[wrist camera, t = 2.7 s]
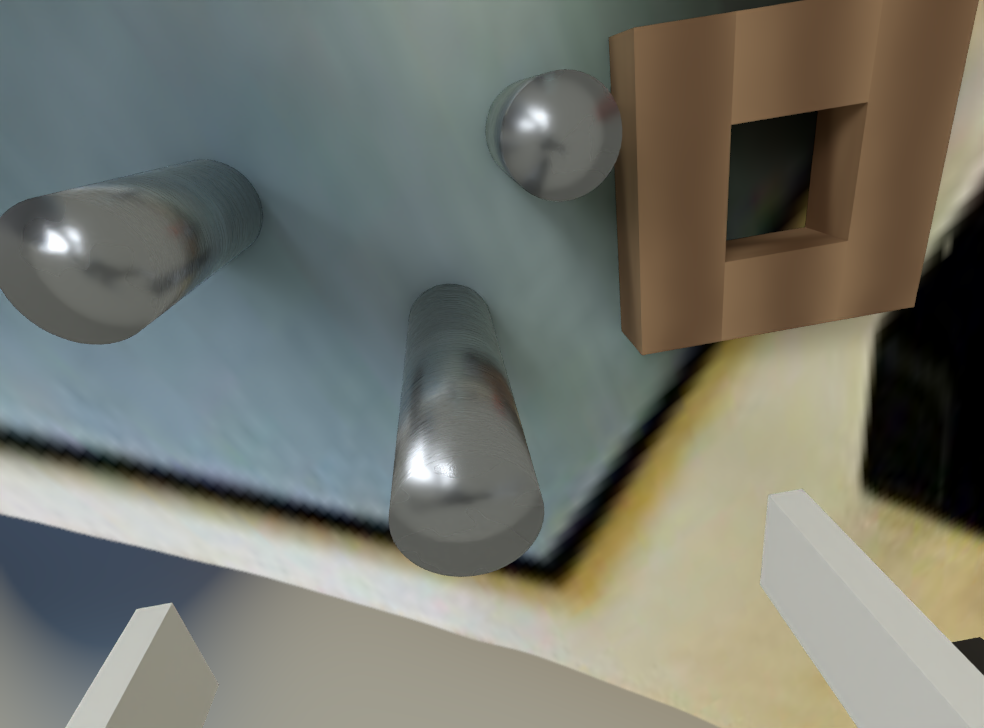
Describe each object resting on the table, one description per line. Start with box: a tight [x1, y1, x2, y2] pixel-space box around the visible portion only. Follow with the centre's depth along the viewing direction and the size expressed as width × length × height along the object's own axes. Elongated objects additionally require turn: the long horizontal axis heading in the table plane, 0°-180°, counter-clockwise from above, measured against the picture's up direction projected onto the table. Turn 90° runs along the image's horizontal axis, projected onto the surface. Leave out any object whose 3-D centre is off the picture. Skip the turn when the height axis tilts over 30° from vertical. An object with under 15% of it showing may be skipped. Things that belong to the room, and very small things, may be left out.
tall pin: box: [389, 284, 544, 577], centre depth 20 cm, size 4×4×14 cm
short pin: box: [485, 69, 622, 201], centre depth 21 cm, size 4×4×6 cm
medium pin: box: [0, 159, 262, 344], centre depth 19 cm, size 4×4×10 cm
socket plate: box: [609, 0, 979, 355], centre depth 24 cm, size 13×13×3 cm
